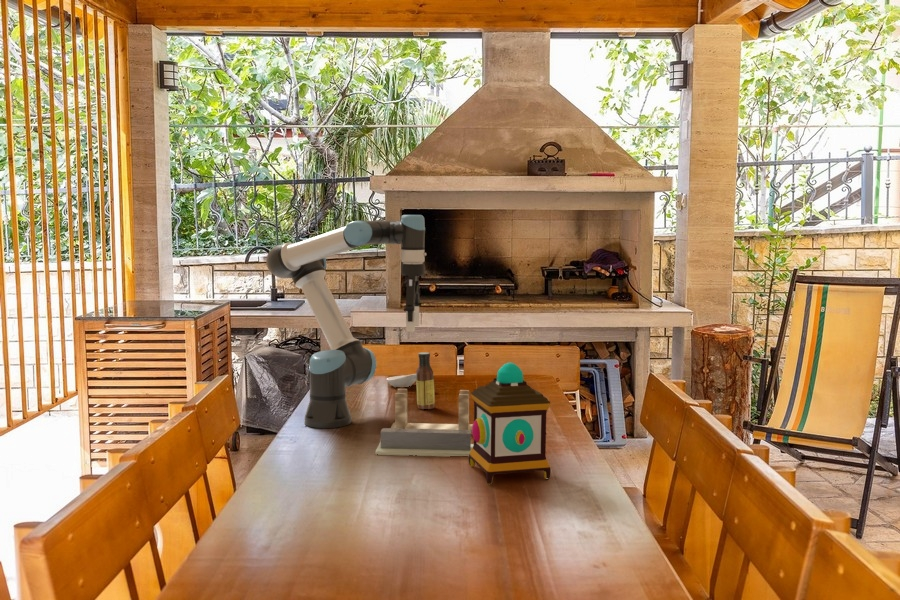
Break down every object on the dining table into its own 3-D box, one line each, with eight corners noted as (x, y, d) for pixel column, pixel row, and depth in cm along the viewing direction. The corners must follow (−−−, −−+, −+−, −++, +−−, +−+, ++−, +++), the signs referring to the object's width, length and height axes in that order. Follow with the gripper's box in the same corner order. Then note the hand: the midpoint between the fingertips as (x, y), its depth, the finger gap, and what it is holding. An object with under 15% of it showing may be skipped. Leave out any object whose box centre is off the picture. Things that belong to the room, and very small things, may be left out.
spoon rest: (380, 386, 339) (380, 369, 338) (403, 382, 347) (403, 365, 346) (419, 396, 322) (419, 377, 321) (442, 392, 330) (442, 373, 329)
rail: (380, 448, 246) (380, 431, 245) (382, 444, 250) (382, 428, 249) (470, 450, 244) (470, 433, 244) (470, 446, 248) (470, 430, 248)
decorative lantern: (484, 487, 215) (485, 370, 212) (462, 465, 234) (463, 357, 231) (557, 481, 220) (560, 367, 217) (530, 460, 239) (532, 354, 236)
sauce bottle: (435, 406, 304) (435, 351, 302) (433, 410, 298) (433, 354, 296) (417, 405, 305) (417, 351, 302) (415, 409, 298) (415, 354, 296)
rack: (390, 431, 268) (390, 393, 267) (393, 426, 275) (393, 388, 274) (472, 433, 267) (473, 395, 265) (473, 428, 274) (473, 390, 273)
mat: (375, 454, 243) (375, 451, 243) (380, 445, 253) (380, 441, 253) (473, 457, 241) (473, 453, 241) (474, 447, 251) (474, 444, 251)
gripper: (420, 265, 259) (420, 334, 261) (428, 260, 284) (427, 323, 286) (396, 265, 260) (396, 333, 262) (405, 260, 284) (405, 323, 287)
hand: (412, 328), depth 274 cm, fingers open, 13 cm apart
